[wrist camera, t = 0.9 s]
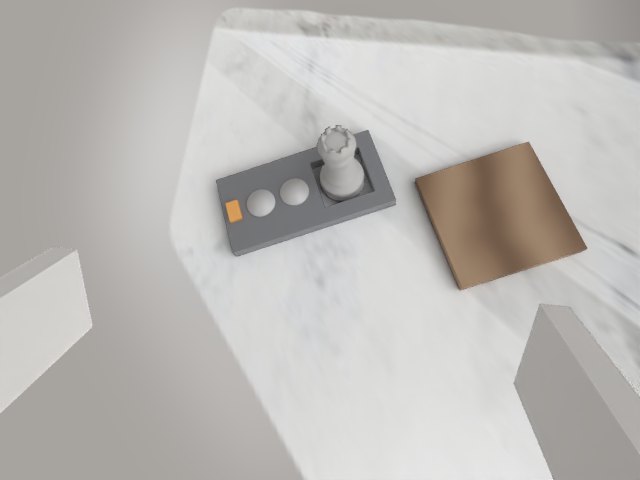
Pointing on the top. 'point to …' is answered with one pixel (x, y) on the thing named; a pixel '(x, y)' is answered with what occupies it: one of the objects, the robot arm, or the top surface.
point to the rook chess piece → (340, 165)
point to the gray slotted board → (294, 198)
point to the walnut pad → (498, 216)
